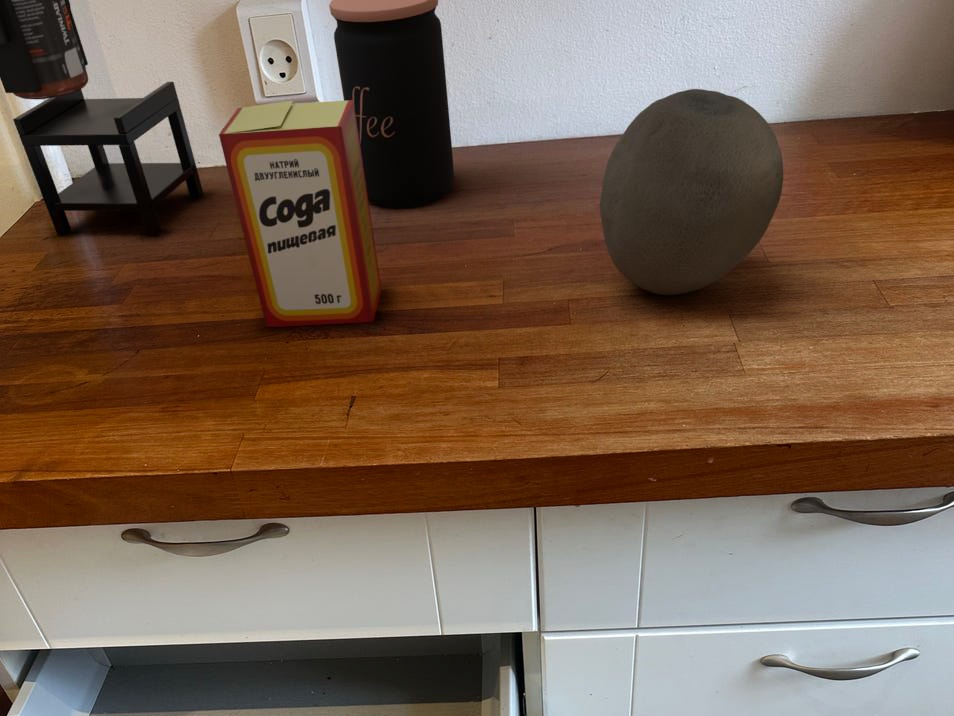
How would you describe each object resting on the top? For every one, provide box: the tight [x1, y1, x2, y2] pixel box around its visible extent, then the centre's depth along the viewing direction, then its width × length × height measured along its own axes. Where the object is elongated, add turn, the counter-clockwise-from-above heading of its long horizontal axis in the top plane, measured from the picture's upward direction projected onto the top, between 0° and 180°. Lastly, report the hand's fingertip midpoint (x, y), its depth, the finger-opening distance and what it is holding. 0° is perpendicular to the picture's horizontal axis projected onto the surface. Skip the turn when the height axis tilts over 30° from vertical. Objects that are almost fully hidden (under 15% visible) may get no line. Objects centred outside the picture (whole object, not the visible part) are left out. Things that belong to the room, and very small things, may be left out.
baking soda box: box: [218, 99, 383, 328], centre depth 79 cm, size 10×6×16 cm
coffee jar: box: [328, 0, 455, 208], centre depth 98 cm, size 11×11×18 cm
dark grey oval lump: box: [599, 88, 784, 296], centre depth 78 cm, size 14×14×15 cm
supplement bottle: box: [12, 0, 89, 100], centre depth 70 cm, size 6×6×11 cm
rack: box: [12, 81, 205, 237], centre depth 101 cm, size 12×12×12 cm
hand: (47, 77), depth 73 cm, fingers closed on supplement bottle, 6 cm apart
